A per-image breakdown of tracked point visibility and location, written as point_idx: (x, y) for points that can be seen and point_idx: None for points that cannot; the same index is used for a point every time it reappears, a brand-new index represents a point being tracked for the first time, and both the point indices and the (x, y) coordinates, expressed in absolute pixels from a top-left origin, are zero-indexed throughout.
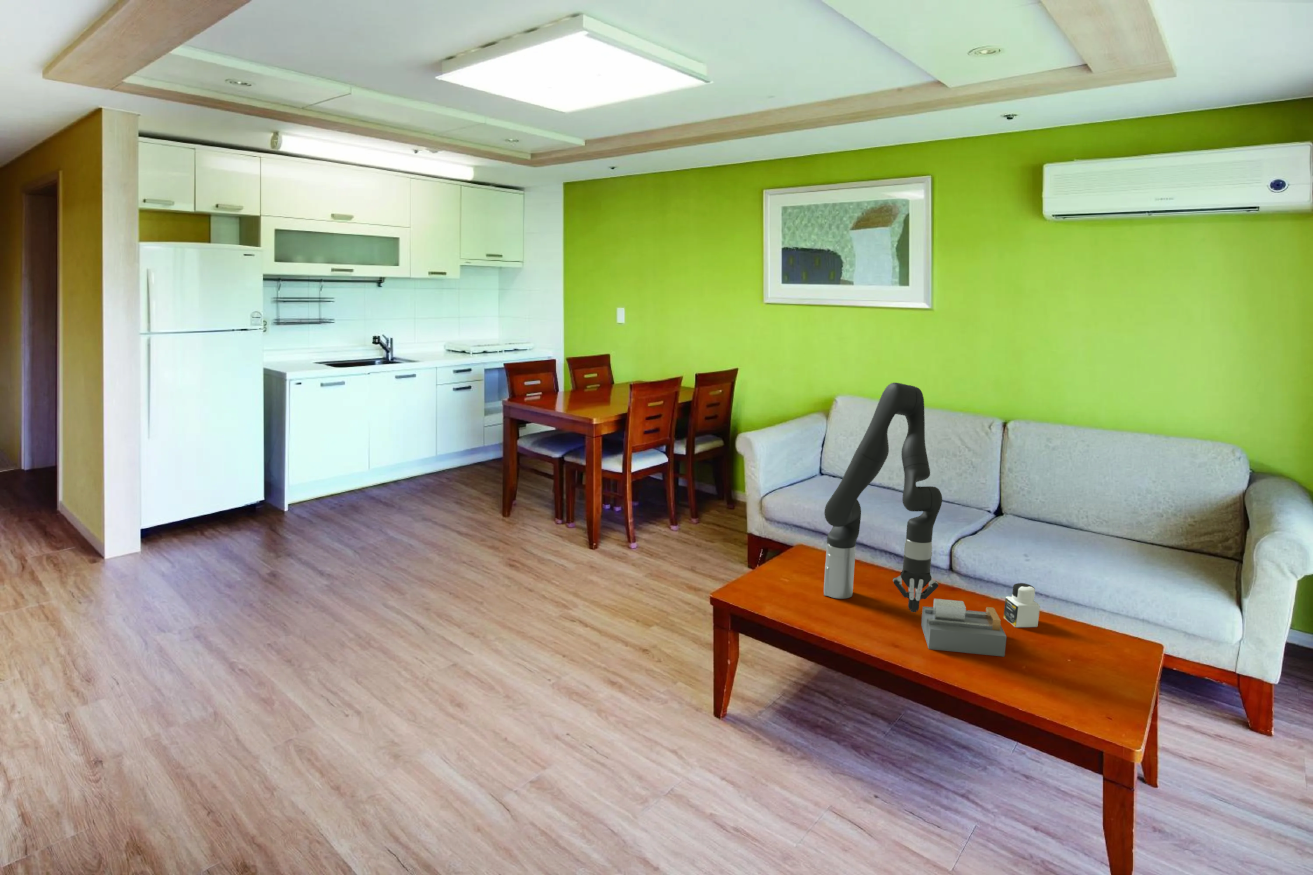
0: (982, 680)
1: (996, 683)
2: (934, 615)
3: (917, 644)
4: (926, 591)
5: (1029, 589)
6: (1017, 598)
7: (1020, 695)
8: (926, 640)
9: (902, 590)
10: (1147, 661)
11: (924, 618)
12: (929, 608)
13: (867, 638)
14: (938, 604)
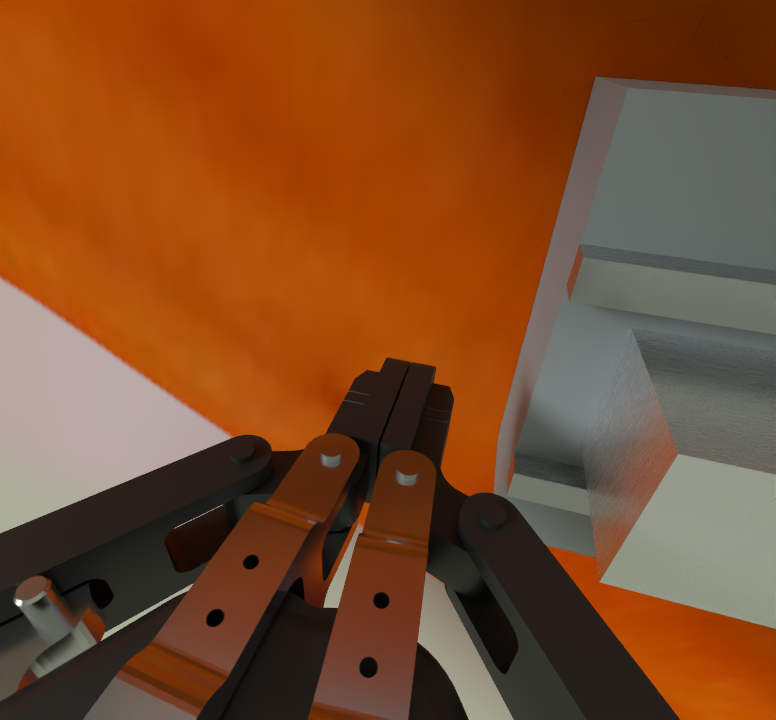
0: (621, 634)
1: (667, 654)
2: (597, 439)
3: (452, 390)
4: (492, 660)
5: None
6: None
7: (707, 704)
8: (517, 368)
9: (184, 569)
10: None
11: (562, 262)
12: (640, 268)
13: (208, 331)
14: (634, 578)
